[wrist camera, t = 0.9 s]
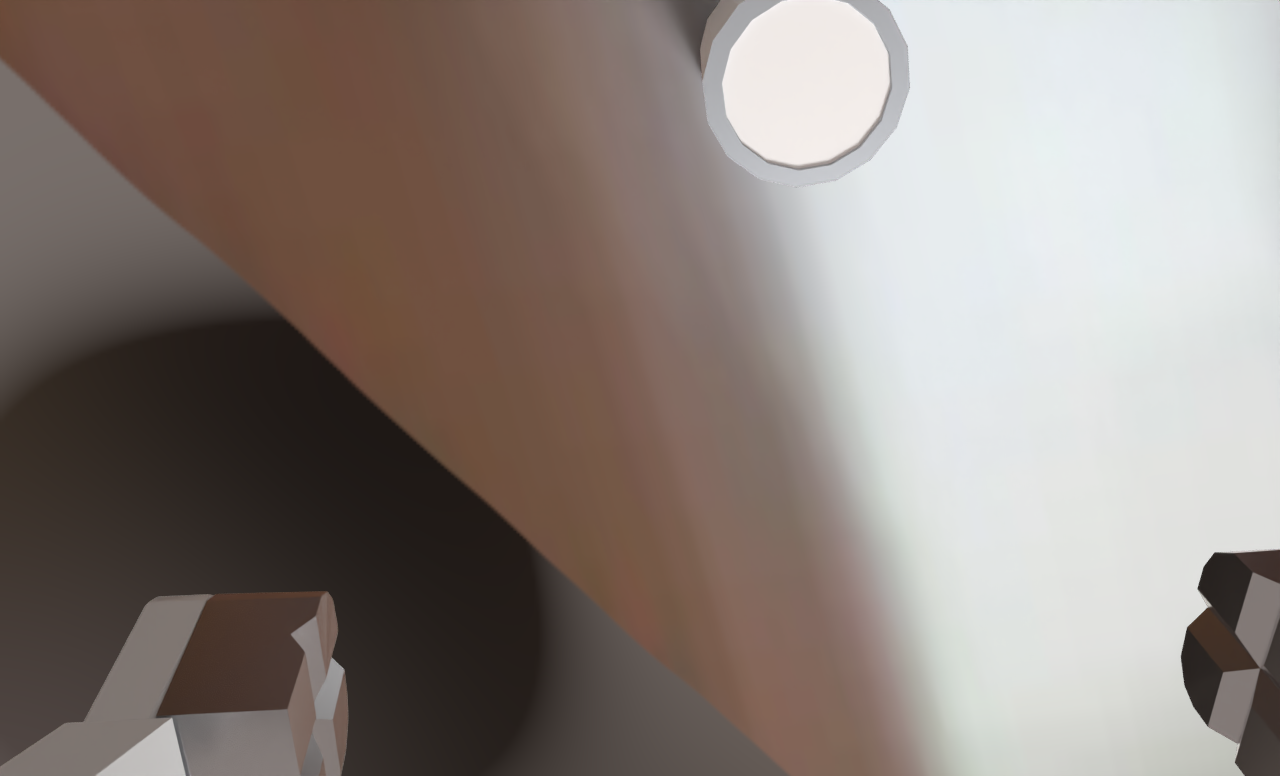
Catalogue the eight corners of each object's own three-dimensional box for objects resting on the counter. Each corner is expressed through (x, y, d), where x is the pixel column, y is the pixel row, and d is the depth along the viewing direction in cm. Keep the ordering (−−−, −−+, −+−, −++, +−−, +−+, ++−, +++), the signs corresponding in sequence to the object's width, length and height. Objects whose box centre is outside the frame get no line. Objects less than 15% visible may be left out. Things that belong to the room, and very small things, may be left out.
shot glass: (733, -79, 41) (762, -65, 34) (895, 2, 42) (951, 30, 36) (654, 96, 43) (667, 139, 37) (809, 167, 45) (847, 219, 38)
